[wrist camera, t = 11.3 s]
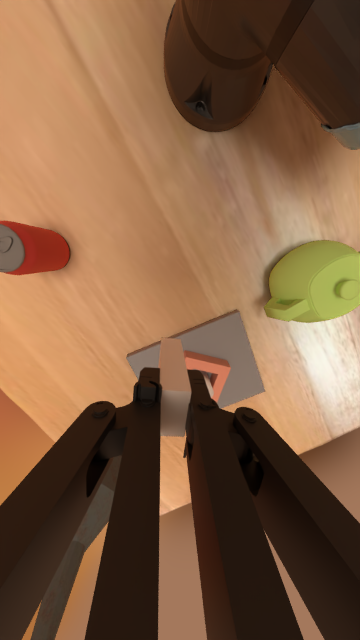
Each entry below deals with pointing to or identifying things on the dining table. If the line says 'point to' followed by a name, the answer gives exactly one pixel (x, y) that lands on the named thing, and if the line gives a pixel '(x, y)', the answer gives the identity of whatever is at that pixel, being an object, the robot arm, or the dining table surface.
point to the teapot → (315, 283)
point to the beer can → (30, 249)
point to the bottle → (75, 557)
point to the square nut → (209, 369)
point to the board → (216, 341)
